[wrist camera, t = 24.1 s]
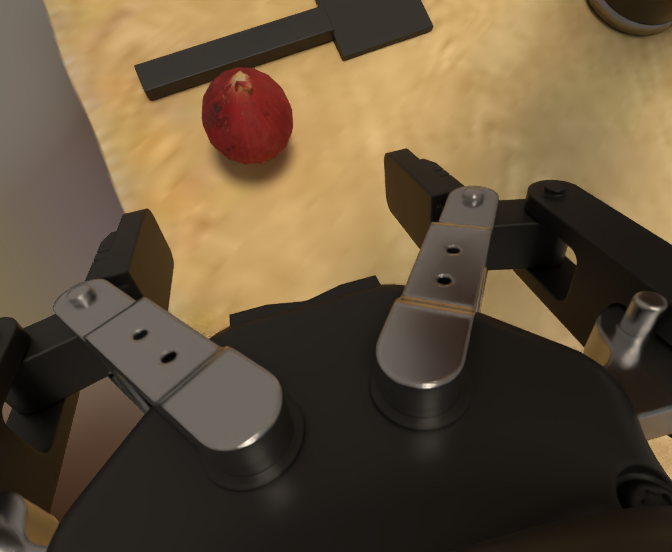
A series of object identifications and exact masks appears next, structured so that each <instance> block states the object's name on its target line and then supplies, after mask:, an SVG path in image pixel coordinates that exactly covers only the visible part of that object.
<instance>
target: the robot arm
mask: <svg viewBox="0 0 672 552" xmlns="http://www.w3.org/2000/svg"><path fill="white" fill-rule="evenodd" d="M588 1H589V3H590V4H591V6H592V8H593V9H594V10H595V12H596V13H597V14H598V15H599V16H600V17H601V18H602V19H603V20H604V21H605V22H607V23H608V24H609V25H611V26H613V27H614V28H616V29H618V30H620V31H623V32H626V33H629V34H634V35H651V34H655V33H658V32H661V31H663V30H665V29H666V28H668V27H669V26H670V25H672V0H588ZM384 169H385V187H386V199H387V204H388V207H389V209H390V211H391V213H392V214H393V215H394V216H395V218H396V219H397V220H398V222H399V223H400V224H401V225H402V227H403V228H404V229H405V231H406V232H407V233H408V234H409V236H410V237H411V238H412V240H413V241H414V242H415V243H416V245H417V246H418V247H419V249H420V251H419V254H418V256H417V259H416V261H415V264H414V266H413V269H412V271H411V274H410V276H409V279H408V281H407V284H406V286H404V285H395V284H384V285H381V284H380V283H379V281H378V279H377V277H376V276H371V277H367V278H364V279H360V280H356V281H353V282H349V283H345V284H342V285H339V286H337V287H335V288H333V289H331V290H329V291H326V292H324V293H322V294H320V295H318V296H316V297H314V298H312V299H310V300H307V301H302V302H292V303H281V304H270V305H264V306H260V307H257V308H253V309H249V310H246V311H242V312H238V313H235V314H231V315H230V326H229V327H227V328H225V329H223V330H222V331H220V332H218V333H217V334H215V335H214V336H212V337H211V338H209V339H208V338H206V337H205V336H203V335H202V334H200V333H199V332H197V331H196V330H194V329H193V328H191V327H190V326H188V325H187V324H185V323H184V322H182V321H181V320H179V319H178V318H176V317H175V316H174V315H172V314H171V313H169V312H168V307H169V299H170V291H171V284H172V276H173V268H174V261H173V257H172V253H171V250H170V248H169V246H168V244H167V242H166V240H165V238H164V236H163V234H162V232H161V230H160V228H159V226H158V224H157V222H156V220H155V218H154V216H153V214H152V212H151V211H150V210H149V209H143V210H139V211H134V212H130V213H126V214H123V216H122V218H121V221H120V224H119V226H118V229H117V231H115V232H111V233H110V235H108V236H107V237H106V238H105V239H104V240H103V241H102V242H101V244H100V246H99V249H98V251H97V254H96V256H95V259H94V262H93V263H92V266H91V268H90V271H89V273H88V275H87V278H86V280H85V282H82V283H79V284H77V285H75V286H73V287H71V288H70V289H68V290H67V291H65V292H64V293H63V294H62V295H60V296H59V297H58V299H57V300H56V301H55V303H54V305H53V311H54V312H55V314H54V315H52V316H50V317H48V318H46V319H44V320H41V321H39V322H37V323H34V324H32V325H30V326H28V327H25V328H22V327H21V325H20V324H19V323H18V322H17V321H16V320H15V319H13V318H10V317H3V318H0V552H672V480H671V479H670V478H669V476H668V475H667V474H666V472H665V471H664V469H663V468H662V466H661V465H660V463H659V462H658V460H657V458H656V457H655V455H654V453H653V451H652V450H651V448H650V446H649V444H648V442H647V440H651V439H654V438H658V437H662V436H665V435H668V436H669V437H671V438H672V245H671V244H669V243H668V242H666V241H665V240H663V239H661V238H660V237H658V236H657V235H655V234H653V233H652V232H650V231H649V230H647V229H645V228H644V227H642V226H641V225H639V224H637V223H636V222H634V221H633V220H631V219H629V218H628V217H626V216H625V215H623V214H621V213H620V212H618V211H617V210H615V209H613V208H612V207H610V206H609V205H607V204H605V203H604V202H602V201H601V200H599V199H597V198H596V197H594V196H593V195H591V194H590V193H588V192H586V191H585V190H583V189H582V188H580V187H578V186H577V185H575V184H572V183H569V182H565V181H560V180H543V181H538V182H535V183H533V184H531V185H530V186H529V187H528V190H527V195H526V199H516V200H499V196H498V194H497V193H496V192H495V191H494V190H492V189H489V188H486V187H482V186H464V185H462V184H461V183H460V182H459V181H458V180H456V179H455V178H454V177H453V176H451V175H449V173H448V172H446V171H445V170H443V168H442V167H440V166H439V165H438V164H437V163H435V162H432V161H429V160H426V159H419V158H418V157H416V156H415V155H414V154H413V153H412V152H411V151H409V150H408V149H402V150H398V151H393V152H389V153H386V154H385V157H384ZM568 246H569V247H570V248H572V250H573V251H574V253H575V255H576V259H577V266H576V265H575V264H574V263H573V262H572V261H570V260H569V259H568V258H567V257H566V256H565V253H566V250H567V247H568ZM503 269H513V270H514V272H515V273H516V274H517V275H518V276H519V277H520V278H521V279H522V281H523V282H524V283H525V284H526V285H527V286H528V287H529V288H530V289H531V290H532V291H533V292H534V294H535V295H536V296H537V297H538V298H539V299H540V300H541V301H542V302H543V303H544V304H545V305H546V307H547V308H548V309H549V310H550V311H551V312H552V313H553V314H554V315H555V316H556V317H557V318H558V320H559V321H560V322H561V323H562V324H563V325H564V326H565V327H566V328H567V329H568V330H569V331H570V333H571V334H572V335H573V336H574V337H575V338H576V339H577V340H578V341H579V342H580V343H581V344H582V346H583V347H584V351H583V353H581V352H579V351H577V350H574V349H572V348H570V347H567V346H564V345H562V344H559V343H557V342H554V341H552V340H549V339H546V338H544V337H541V336H539V335H536V334H534V333H531V332H528V331H526V330H523V329H521V328H518V327H516V326H513V325H511V324H508V323H505V322H503V321H500V320H498V319H495V318H493V317H490V316H487V315H485V314H482V313H480V311H481V306H482V301H483V295H484V290H485V284H486V279H487V273H488V270H503ZM107 376H108V377H109V378H110V379H111V381H112V382H113V383H114V384H115V385H116V386H117V387H118V388H119V389H120V390H121V391H122V392H123V393H124V394H125V395H126V396H127V397H128V398H129V399H130V400H131V401H133V402H134V404H135V405H136V406H137V407H138V408H139V409H140V410H141V411H142V412H143V413H144V414H145V415H144V416H143V417H142V419H141V420H140V421H139V422H138V423H137V425H136V426H135V427H134V428H133V430H132V431H131V432H130V433H129V435H128V436H127V437H126V438H125V440H124V441H123V442H122V443H121V445H120V446H119V447H118V448H117V450H116V451H115V452H114V453H113V455H112V456H111V457H110V458H109V460H108V461H107V462H106V463H105V465H104V466H103V467H102V468H101V469H100V471H99V472H98V473H97V475H96V476H95V477H94V478H93V480H92V481H91V482H90V483H89V484H88V486H87V487H86V488H85V489H84V491H83V492H82V493H81V494H80V496H79V497H78V498H77V499H76V501H75V502H74V503H73V504H72V506H71V507H70V509H69V510H68V511H67V513H66V514H65V515H64V517H63V519H62V520H61V522H60V523H58V521H57V519H56V518H55V517H53V516H52V515H51V514H50V511H51V507H52V503H53V499H54V495H55V491H56V487H57V483H58V479H59V475H60V471H61V467H62V463H63V459H64V454H65V450H66V446H67V442H68V438H69V434H70V430H71V426H72V422H73V418H74V414H75V410H76V405H77V402H78V398H79V391H80V390H82V389H84V388H86V387H87V386H89V385H91V384H93V383H95V382H97V381H99V380H101V379H103V378H105V377H107ZM4 402H6V403H7V404H8V405H10V406H11V407H12V410H11V413H10V415H9V418H8V420H7V423H6V424H5V422H4V420H3V416H2V408H3V404H4Z"/></svg>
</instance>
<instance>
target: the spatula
mask: <svg viewBox="0 0 672 552" xmlns="http://www.w3.org/2000/svg"><path fill="white" fill-rule="evenodd" d="M316 2H317V4H318V7H317V8H314V9H310V10H307V11H304V12H301V13H298V14H295V15H292V16H288V17H285V18H282V19H279V20H276V21H273V22H270V23H266V24H263V25H260V26H257V27H254V28H251V29H248V30H244V31H241V32H238V33H235V34H232V35H229V36H226V37H222V38H219V39H216V40H213V41H210V42H207V43H204V44H200V45H197V46H194V47H191V48H188V49H185V50H182V51H178V52H175V53H172V54H169V55H166V56H163V57H160V58H156V59H153V60H150V61H147V62H144V63H141V64H138V65H135V70H136V72H137V75H138V77H139V79H140V82H141V84H142V87H143V89H144V92H145V93H146V95H147V96H148V98H149V99H150V100H154V99H157V98H160V97H163V96H166V95H169V94H172V93H175V92H178V91H181V90H184V89H187V88H190V87H193V86H196V85H199V84H202V83H205V82H208V81H211V80H214V79H215V78H216V77H217V76H219V75H220V74H221V73H222V72H224V71H227V70H230V69H233V68H236V67H242V68H250V67H253V66H256V65H259V64H262V63H265V62H268V61H272V60H275V59H278V58H281V57H284V56H287V55H290V54H293V53H296V52H299V51H302V50H305V49H308V48H311V47H314V46H317V45H320V44H323V43H326V42H329V41H332V40H334V42H335V44H336V46H337V48H338V51H339V53H340V55H341V57H342V59H343V61H344V60H347V59H350V58H352V57H355V56H358V55H361V54H364V53H367V52H370V51H373V50H376V49H379V48H382V47H385V46H388V45H391V44H394V43H397V42H399V41H402V40H405V39H408V38H411V37H414V36H417V35H420V34H423V33H426V32H429V31H431V30H432V28H433V24H432V22H431V20H430V18H429V16H428V14H427V12H426V10H425V8H424V6H423V4H422V2H421V0H316Z"/></svg>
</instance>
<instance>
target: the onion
mask: <svg viewBox="0 0 672 552" xmlns="http://www.w3.org/2000/svg"><path fill="white" fill-rule="evenodd" d="M202 122H203V126H204V129H205V131H206V133H207V136H208V138H209V140H210V143H211V144H212V145H213V146H214V147H215V148H216V149H217V150H218V151H220V152H221V153H222V154H223V155H224V156H225V157H227V158H228V159H230V160H233V161H237V162H240V163H244V164H255V163H263V162H265V161H267V160H270V159H272V158H274V157H276V156H277V155H278V154H279V153H280V152H281V151H282V150H283V149H284V148H285V147H286V145H287V143H288V140H289V138H290V136H291V133H292V129H293V118H292V109H291V106H290V103H289V101H288V99H287V97H286V95H285V93H284V91H283V89H282V88H281V87H280V85H278V84H277V83H276V82H275V81H274V80H273V79H272V78H271V77H270V76H269V75H267V74H265V73H262V72H260V71H258V70H255V69H253V68H242V67H236V68H233V69H230V70H227V71H224V72H222V73H221V74H220V75H219V76H217V77H216V78H215V79H214V80H213V81H212V82H211V84H210V85H209V87H208V89H207V91H206V93H205V94H204V96H203V104H202Z"/></svg>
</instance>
